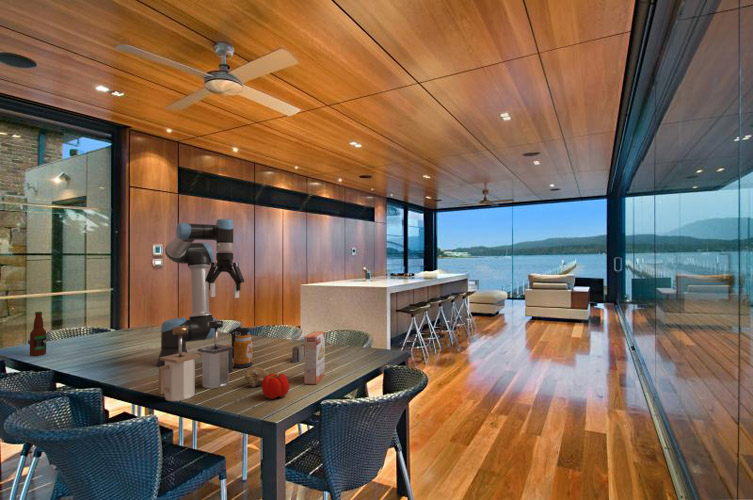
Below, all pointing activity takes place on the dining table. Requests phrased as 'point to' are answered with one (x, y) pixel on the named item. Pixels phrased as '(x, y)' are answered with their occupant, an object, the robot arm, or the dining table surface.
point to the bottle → (38, 337)
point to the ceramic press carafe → (178, 376)
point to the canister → (241, 347)
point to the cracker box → (314, 357)
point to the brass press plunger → (180, 335)
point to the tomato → (275, 385)
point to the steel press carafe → (216, 366)
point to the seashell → (255, 376)
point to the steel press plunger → (215, 329)
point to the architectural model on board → (298, 353)
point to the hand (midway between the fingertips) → (224, 297)
